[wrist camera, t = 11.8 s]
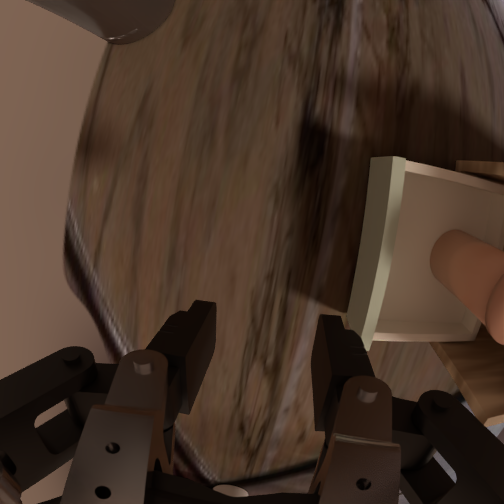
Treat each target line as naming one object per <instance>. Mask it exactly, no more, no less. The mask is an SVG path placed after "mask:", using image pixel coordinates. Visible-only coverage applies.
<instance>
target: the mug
mask: <svg viewBox="0 0 504 504" xmlns="http://www.w3.org/2000/svg"><path fill="white" fill-rule="evenodd" d="M213 490H215V491H218V492H220V493H223V494H225V495H228V496H232V497H245V496H248V493H247V491H245V490H244V489H242V488H240V487H237V486H233V485H218V486H215V487H214V488H213Z"/></svg>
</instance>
